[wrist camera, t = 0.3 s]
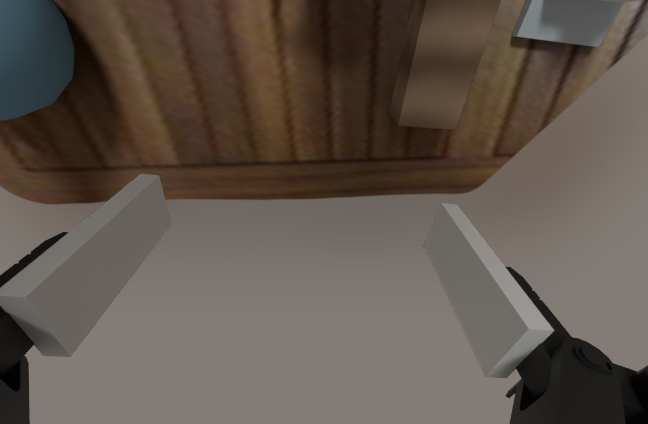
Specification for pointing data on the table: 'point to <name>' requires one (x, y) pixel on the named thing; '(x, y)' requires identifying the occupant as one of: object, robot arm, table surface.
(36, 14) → the vase
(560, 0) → the fulcrum
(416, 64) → the beam
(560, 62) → the table surface
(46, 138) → the table surface
